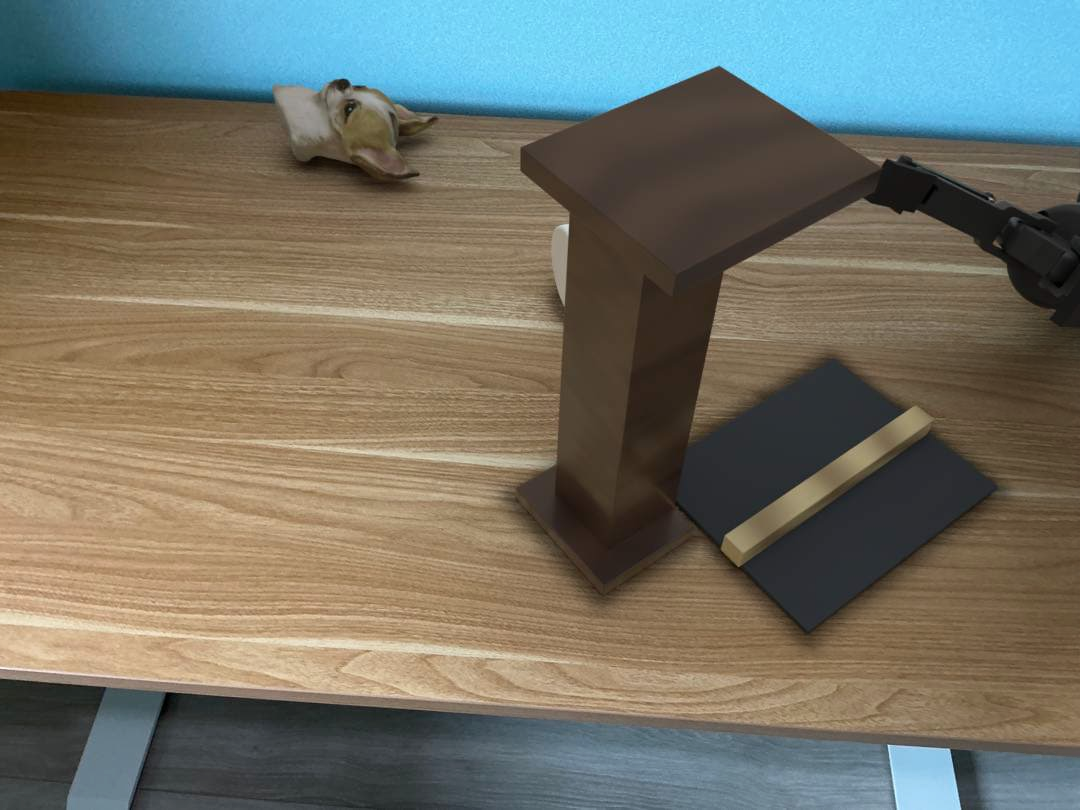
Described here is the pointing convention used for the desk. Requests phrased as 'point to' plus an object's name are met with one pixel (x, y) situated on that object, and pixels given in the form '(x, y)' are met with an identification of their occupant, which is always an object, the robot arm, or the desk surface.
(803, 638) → the desk surface
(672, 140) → the stand
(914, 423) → the wooden stick
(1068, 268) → the robot arm
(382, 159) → the ceramic sculpture
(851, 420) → the mat
